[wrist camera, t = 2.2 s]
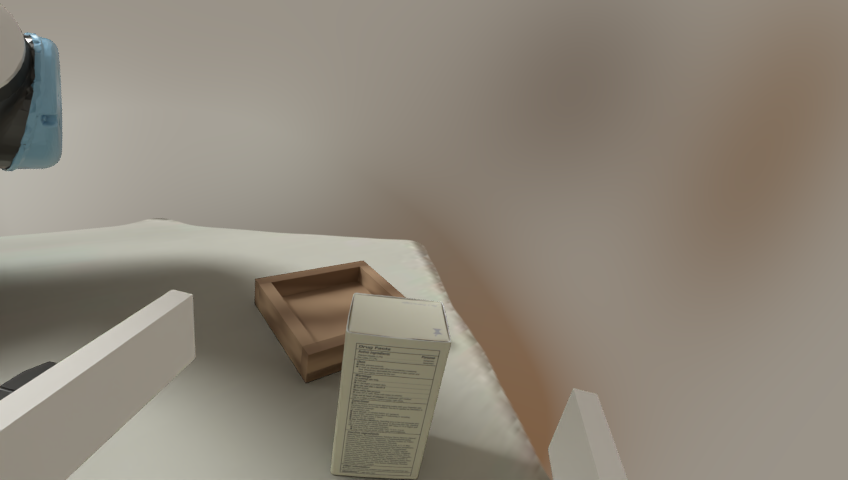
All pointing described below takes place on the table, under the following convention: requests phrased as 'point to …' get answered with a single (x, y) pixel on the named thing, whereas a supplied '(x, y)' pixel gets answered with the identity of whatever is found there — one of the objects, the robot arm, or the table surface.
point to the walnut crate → (316, 312)
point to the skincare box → (388, 385)
